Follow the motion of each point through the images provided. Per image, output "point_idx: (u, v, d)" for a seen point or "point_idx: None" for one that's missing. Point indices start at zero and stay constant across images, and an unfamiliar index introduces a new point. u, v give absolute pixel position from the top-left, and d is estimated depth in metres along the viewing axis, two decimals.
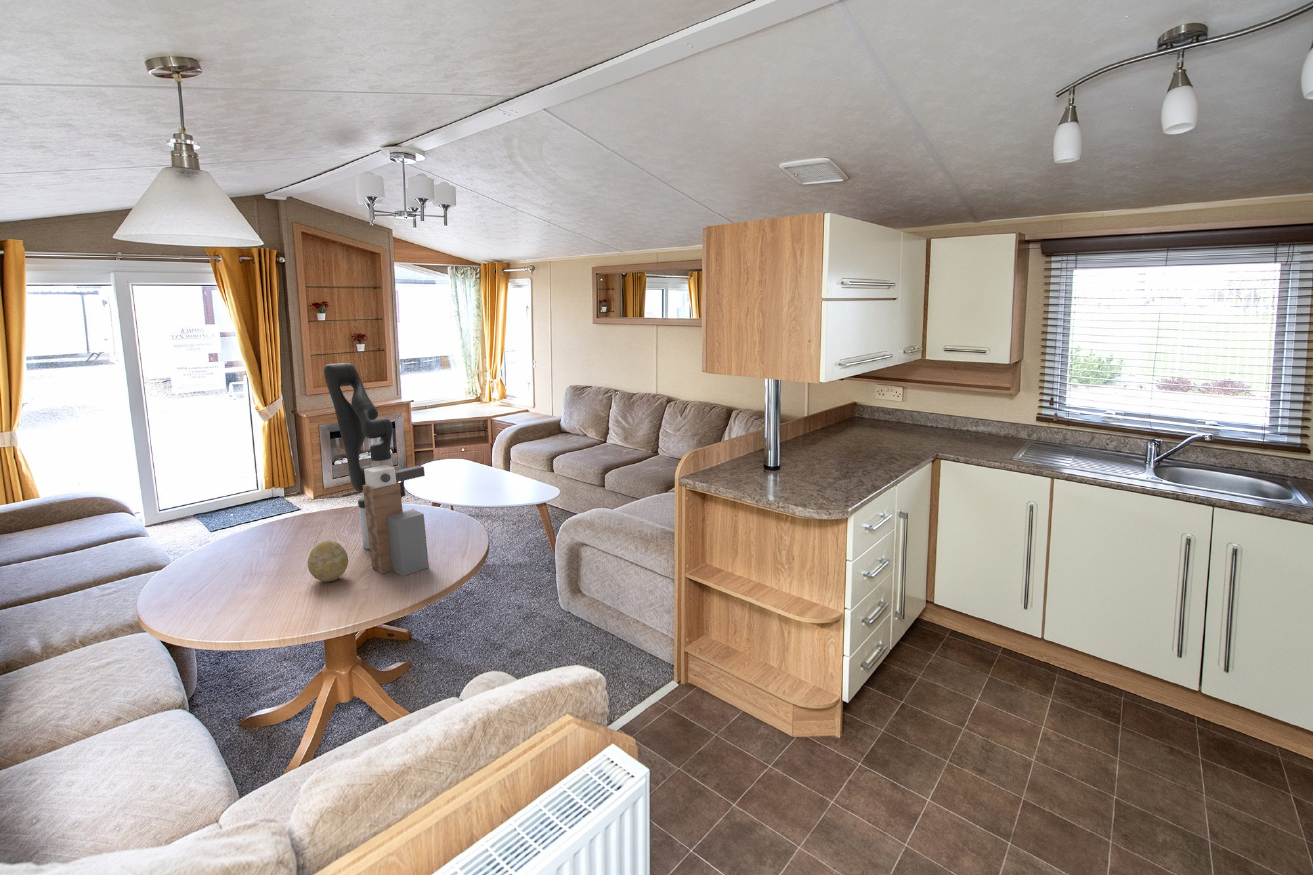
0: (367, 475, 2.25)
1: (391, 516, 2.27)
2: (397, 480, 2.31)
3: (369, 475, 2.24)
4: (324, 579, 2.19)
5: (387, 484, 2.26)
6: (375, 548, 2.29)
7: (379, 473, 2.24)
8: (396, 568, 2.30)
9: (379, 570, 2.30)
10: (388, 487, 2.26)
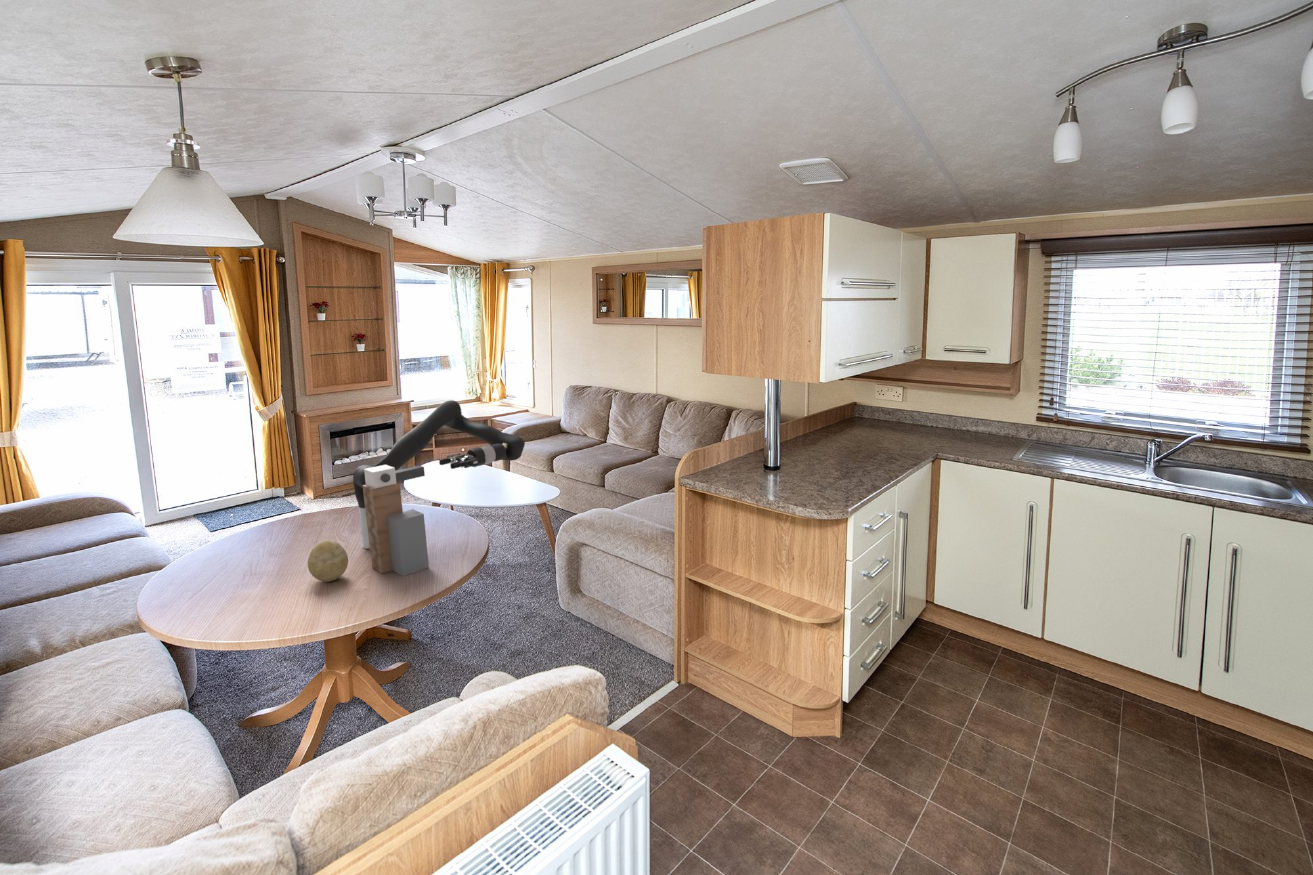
0: (367, 475, 2.25)
1: (391, 516, 2.27)
2: (397, 480, 2.31)
3: (369, 475, 2.24)
4: (324, 579, 2.19)
5: (387, 484, 2.26)
6: (375, 548, 2.29)
7: (379, 473, 2.24)
8: (396, 568, 2.30)
9: (379, 570, 2.30)
10: (388, 487, 2.26)
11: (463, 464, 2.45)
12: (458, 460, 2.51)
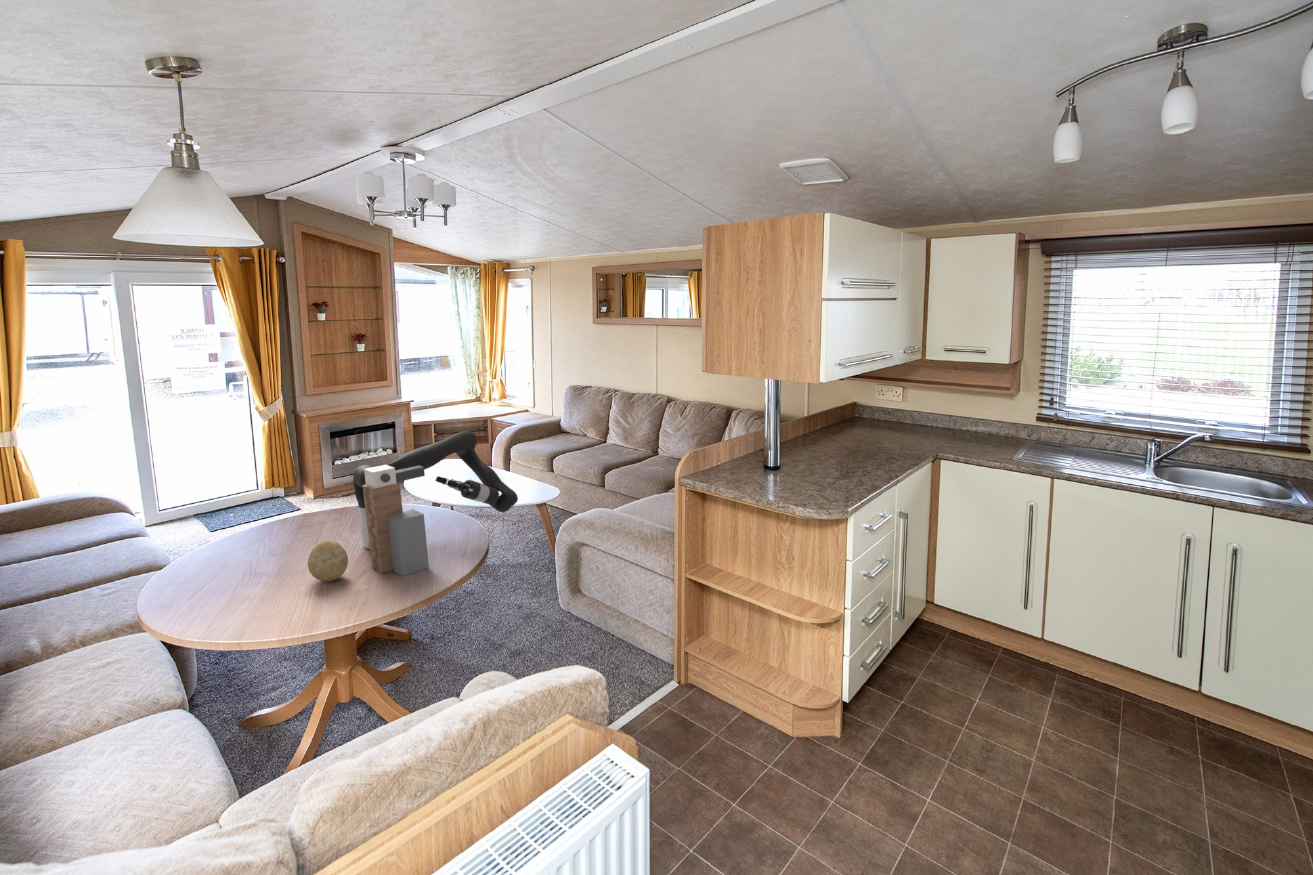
0: (367, 475, 2.25)
1: (391, 516, 2.27)
2: (397, 480, 2.31)
3: (369, 475, 2.24)
4: (324, 579, 2.19)
5: (387, 484, 2.26)
6: (375, 548, 2.29)
7: (379, 473, 2.24)
8: (396, 568, 2.30)
9: (379, 570, 2.30)
10: (388, 487, 2.26)
11: (459, 486, 2.46)
12: None
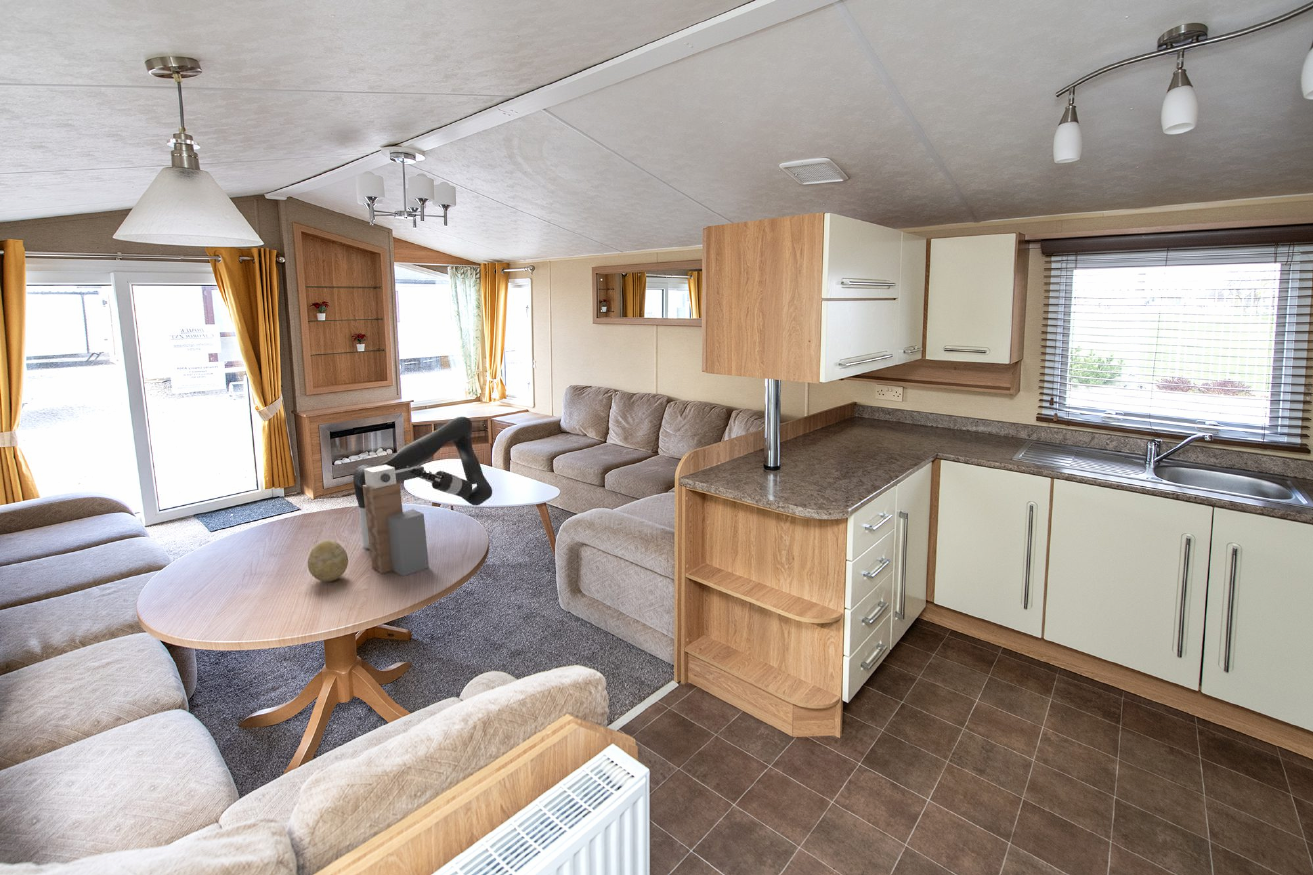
0: (367, 475, 2.25)
1: (391, 516, 2.27)
2: (397, 480, 2.31)
3: (369, 475, 2.24)
4: (324, 579, 2.19)
5: (387, 484, 2.26)
6: (375, 548, 2.29)
7: (379, 473, 2.24)
8: (396, 568, 2.30)
9: (379, 570, 2.30)
10: (388, 487, 2.26)
11: (424, 474, 2.36)
12: None
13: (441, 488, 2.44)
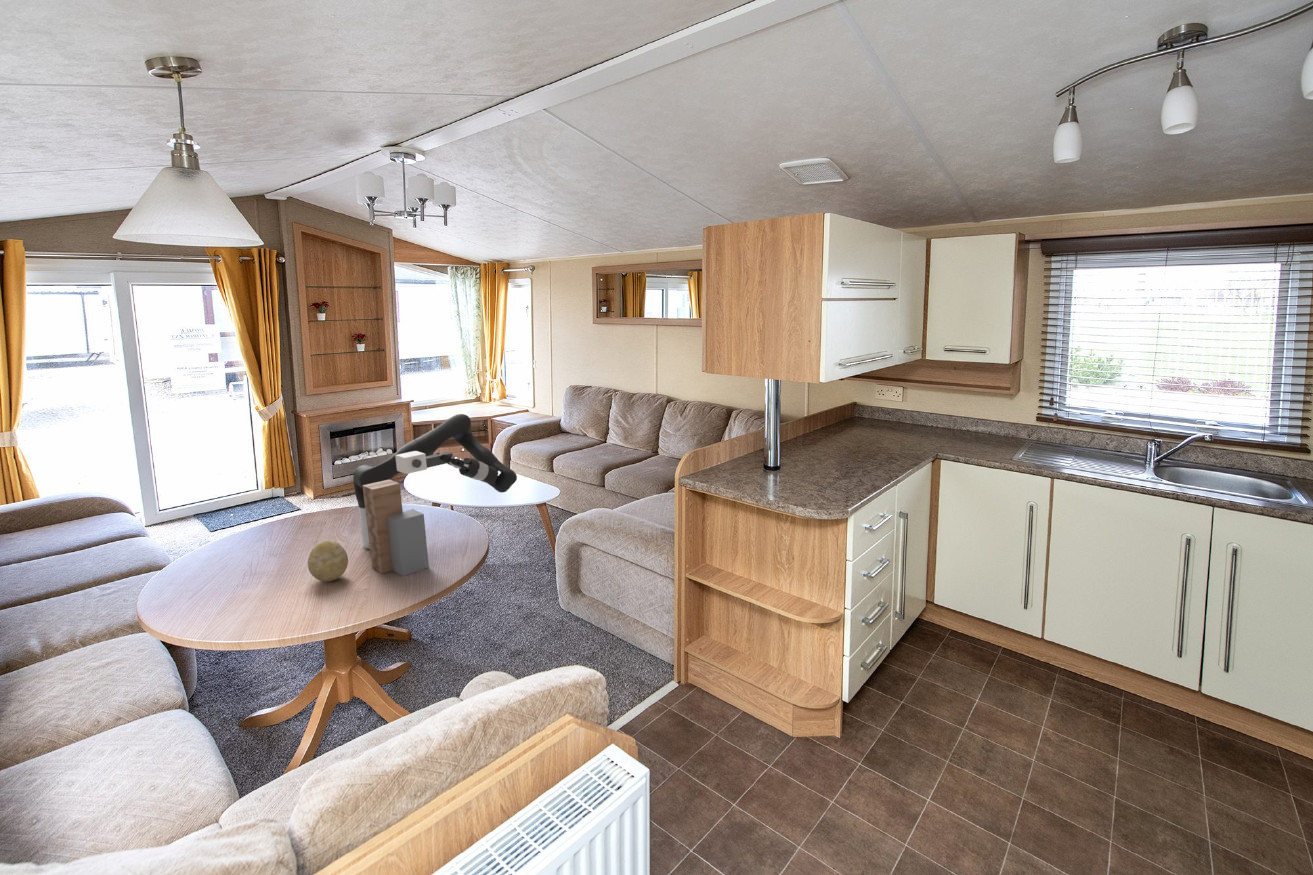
0: (399, 461, 2.29)
1: (391, 516, 2.27)
2: (427, 466, 2.35)
3: (400, 461, 2.29)
4: (324, 579, 2.19)
5: (418, 470, 2.31)
6: (375, 548, 2.29)
7: (410, 458, 2.28)
8: (396, 568, 2.30)
9: (379, 570, 2.30)
10: (388, 487, 2.26)
11: (453, 460, 2.40)
12: None
13: (469, 474, 2.48)
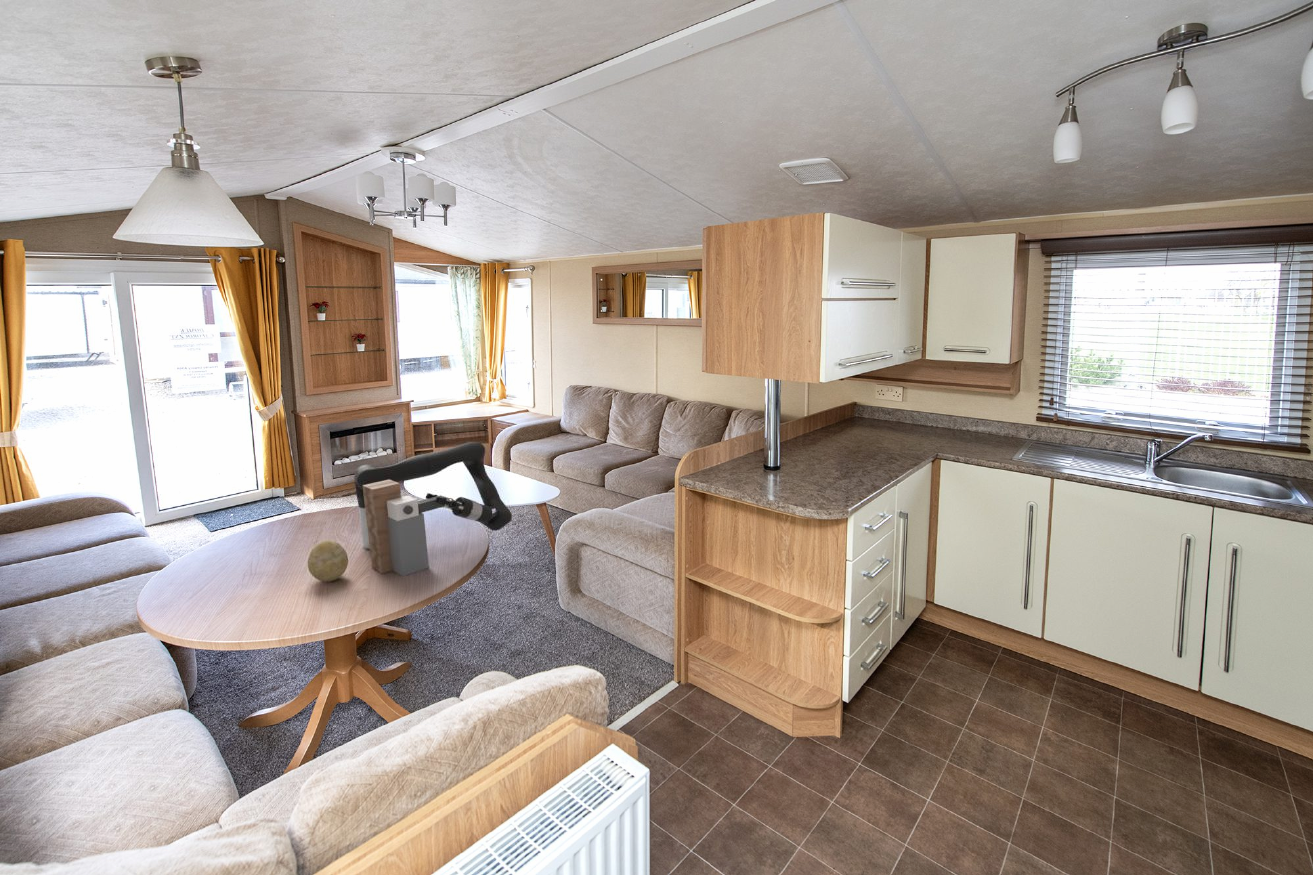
0: (390, 507, 2.24)
1: None
2: (419, 511, 2.30)
3: (391, 507, 2.24)
4: (324, 579, 2.19)
5: (410, 516, 2.26)
6: (375, 548, 2.29)
7: (401, 505, 2.23)
8: (396, 568, 2.30)
9: (379, 570, 2.30)
10: (388, 487, 2.26)
11: (448, 503, 2.34)
12: None
13: (462, 515, 2.43)
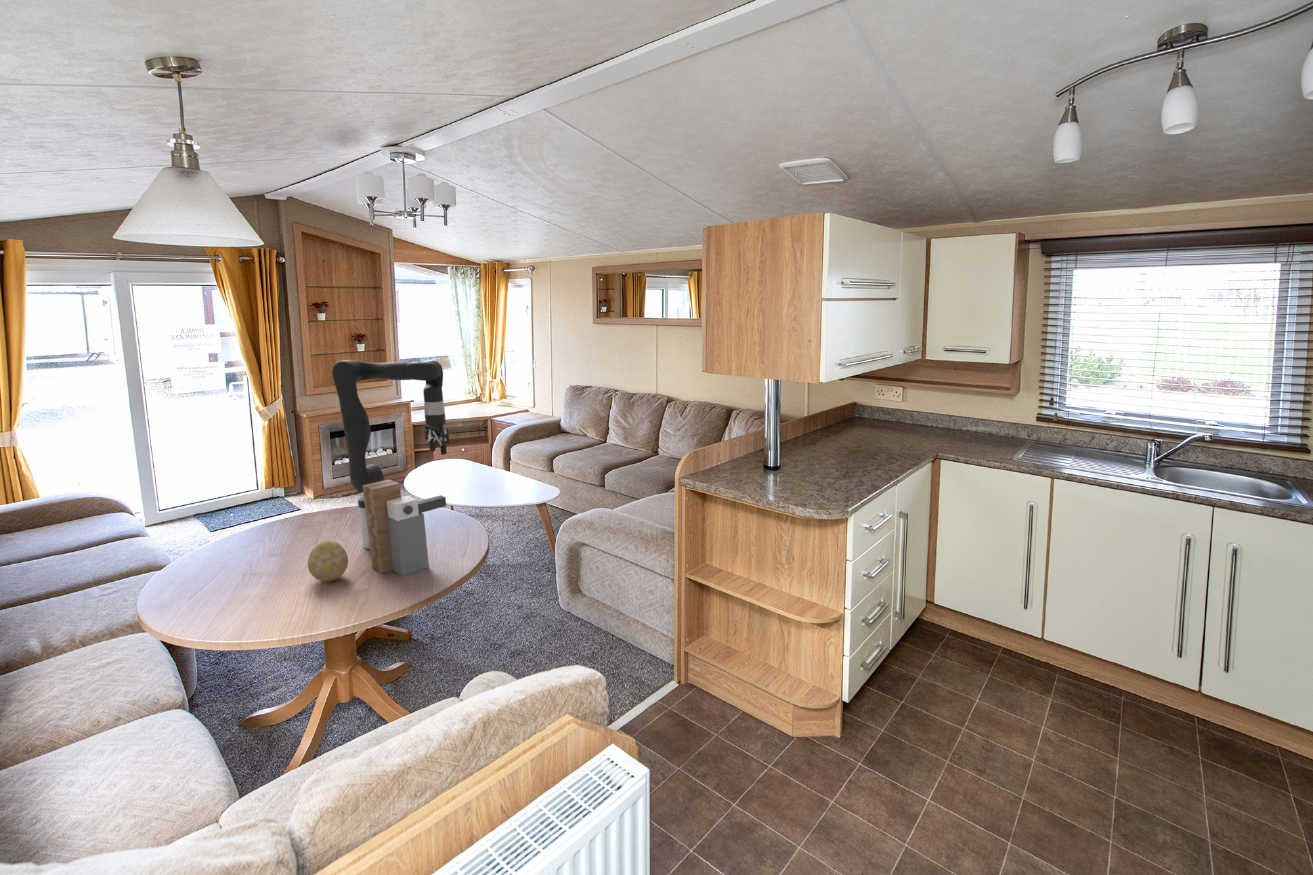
0: (390, 507, 2.24)
1: None
2: (419, 511, 2.30)
3: (391, 507, 2.24)
4: (324, 579, 2.19)
5: (410, 516, 2.26)
6: (375, 548, 2.29)
7: (401, 505, 2.23)
8: (396, 568, 2.30)
9: (379, 570, 2.30)
10: (388, 487, 2.26)
11: (445, 444, 2.44)
12: (435, 437, 2.48)
13: None
